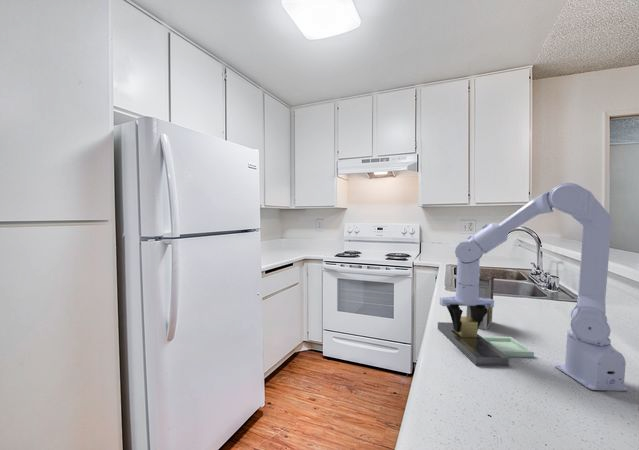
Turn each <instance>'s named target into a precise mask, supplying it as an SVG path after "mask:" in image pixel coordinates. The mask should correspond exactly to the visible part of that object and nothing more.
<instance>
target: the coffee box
mask: <svg viewBox="0 0 639 450" xmlns="http://www.w3.org/2000/svg"><path fill="white" fill-rule="evenodd" d="M494 286H495V275H492V274H486V273H479V294H478V298H490V299H492V300H494ZM485 308H487V309H488V311H487V314H486V315H485V316H484V317H483V319H482V321H481V323H480V325H479V328H478V329H480V330H481V329H482V330H485V331H487V330H488V329H489V327H490V325H491V324H492V322H493V308H494V307H489V306H485ZM465 317H471V311H470V306H466V316H465Z"/></svg>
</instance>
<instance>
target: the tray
mask: <svg viewBox="0 0 639 450" xmlns="http://www.w3.org/2000/svg"><path fill="white" fill-rule="evenodd" d="M480 336H481V337H482V338H484V339H485V340H486V341H488V342H489V343H490V344H491V345H493V346H494V347H495V348H497V349H498V350H499V351H501V352H502V353H503V354H505V355H506V356H507V357H509V358H534V357H535V351H533V350H532V349H530V348H529V347H528V346H526V345H524V344H522V343H521V342H520V341H518V340H516V339H515V338H513V337H512V336H489V335H488V336H484V335H483V336H482V335H480Z"/></svg>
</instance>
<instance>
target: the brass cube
mask: <svg viewBox="0 0 639 450" xmlns="http://www.w3.org/2000/svg"><path fill="white" fill-rule="evenodd" d="M477 328H478V322H477V321H475V320H474V319H472V318H471V317H466V316H462V315H461V320H460V331H459V332H456V331H455V330H454V334H455V335H456V336H457V337H459V338H460V339H477V334H478V331H477ZM478 329H479V328H478Z"/></svg>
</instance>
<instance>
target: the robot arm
mask: <svg viewBox="0 0 639 450" xmlns="http://www.w3.org/2000/svg"><path fill="white" fill-rule="evenodd" d="M553 208H554V209H555V210H558V211H560V212H563V213H564V214H567V215H570V216H571V217H572V218H573V219H575V220H576V221H577V222H579V224H580V225H582V238H581V239H582V240H581V251H580V265H579V266H580V267H579V275H578V276H579V279H578V291H577V292H578V293H577V301H576V305H575V306H574V307H573V309H572V310H571V312H570V318H571V320H570V328H571V329H569V330H567V332H566V333H567V334H566V346H565V347H566V348H565V349H566V350H565V351H566V352H565V364H554V367H555V368H557V369H558V370H559V371H561V372H562V373H564V374H565V375H567V376H569V377H570V378H571V379H573V380H575V381H577V382H578V383H579V384H580V385H582V386H584V387H586V388H587V389H589V390H591V391H628V387H626V386H625V377H626V376H625V374H626V365H627V364H626V359H625V356H624V355H623V354H622V353H621V352H620V351H618V350H616V349H615V348H614V347H613V345H612V343H611V338H610V336H611V327H610V324H609V323H608V318H607V315H606V310H607V309H606V296H607V295H606V294H607V283H608V272H609V271H608V270H609V261H610V248H611V247H610V246H611V236H612V234H611V233H612V221H613V220H612V216H611V214H610V213H609V211H607V209H605V208H604V206H603V205H602V204H601V202H599V200H597V198H596V196H595V195H594V194H593V193H592V191H590V190H588V189H587V188H585V187H583V186H581V185H579V184H577V183H573V182H564V183H560V184H558V185H556V186H555V187H553V188H552V189H551V191H550V190H547V191H546V192H544V193H542V194H540V195H538V196H536V197H535V198H533V199H531V200H530V201H528V202H527V203H526V204H525V205H523V206H522V207H521V208H519V209H518V210H516V211H515V212H514V213H512V214H511V215H510V216H508V217H507V218H505V219H504V220H502V221H501V222H500V223H495V222H492V223H489V224H483V225H482V226H481V228H482V229H481V230H479V231H478V232H476V233H474V234H473V235H469V236H468V237H466V238H467V240H465V241H460V243H459V244H458V245H457V246H456V247H455V250H454V253H455V257H456V258H457V266H456V283H455V296H446V297H441V296H440V297H439V305H440V306H442V307H446V308H447V310H448V312H449V315H450V317H451V321H452V322H451V323H453V328H454V330H455V331H456V332H459V331H460V320H461V316H462V315H463V312H464V311H463V309H461V307H467V306H470V311H471V318H472V319H474V320H475V321H477V322H478V328H477V332H478V330H479V329H480V328H479V325H480V323H481V321H482V319H483V317H484V316H485V315H486V314H487V311H488V309H487V308H485V306H489V307H493V308H494V307H495V300H494V299H493V300H492V299H490V298H478V294H479V273H480V271H481V270H480V269H481V268H480V261H481V260H480V259H481V258H482V257H483V255H484V254H485V255H486V254H488V253H490V252H491V251H492V250H494V249H496V248H498V246H500V245H501V244H503V243H506V242H507V241H508V237H509V236H508V235H509V233H511V232H512V231H514V230H515V229H518V228H519V227H520V226H522V225H523V224H525V223H527V222H528V221H530V220H531V219H533V218H535V217H536V216H539V215H544V214H550V213H553V212H554V210H553Z"/></svg>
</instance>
